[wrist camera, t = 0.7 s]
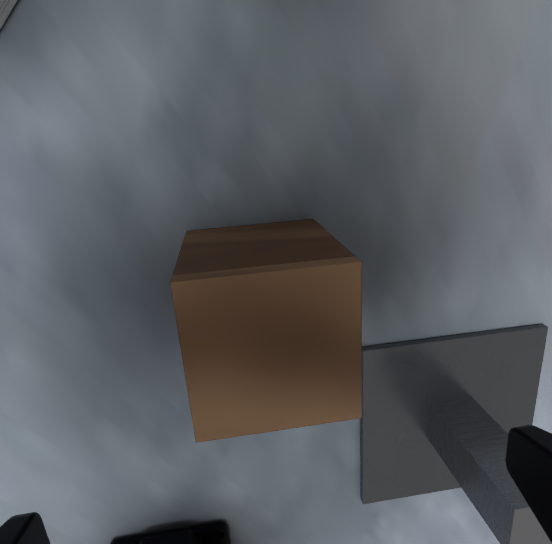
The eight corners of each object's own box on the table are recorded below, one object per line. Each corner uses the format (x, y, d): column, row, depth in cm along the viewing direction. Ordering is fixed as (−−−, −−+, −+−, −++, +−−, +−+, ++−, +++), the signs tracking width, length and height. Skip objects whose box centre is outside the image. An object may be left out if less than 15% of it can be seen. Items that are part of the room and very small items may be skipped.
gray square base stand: (519, 471, 25) (625, 590, 19) (360, 498, 24) (414, 634, 18) (542, 323, 22) (681, 404, 15) (360, 347, 21) (426, 445, 14)
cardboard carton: (317, 331, 20) (361, 418, 14) (202, 345, 20) (196, 442, 13) (313, 219, 18) (361, 261, 12) (186, 230, 18) (170, 282, 12)
